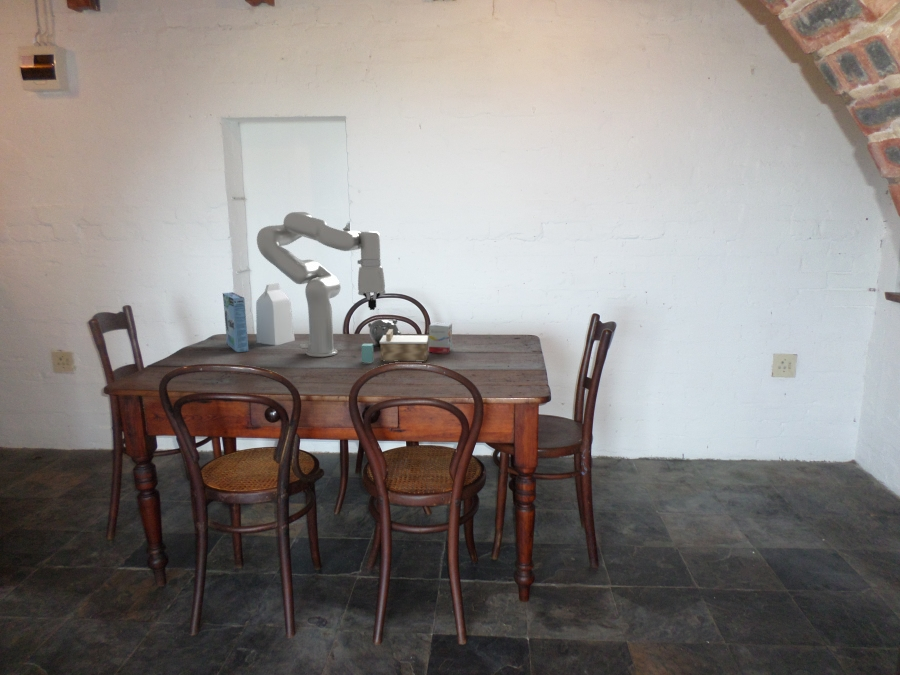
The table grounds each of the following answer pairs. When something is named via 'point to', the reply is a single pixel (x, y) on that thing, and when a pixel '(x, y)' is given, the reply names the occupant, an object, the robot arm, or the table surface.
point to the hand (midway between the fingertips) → (372, 309)
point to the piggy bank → (382, 329)
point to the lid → (403, 339)
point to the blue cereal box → (235, 321)
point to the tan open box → (404, 352)
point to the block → (367, 353)
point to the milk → (274, 317)
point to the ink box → (440, 337)
